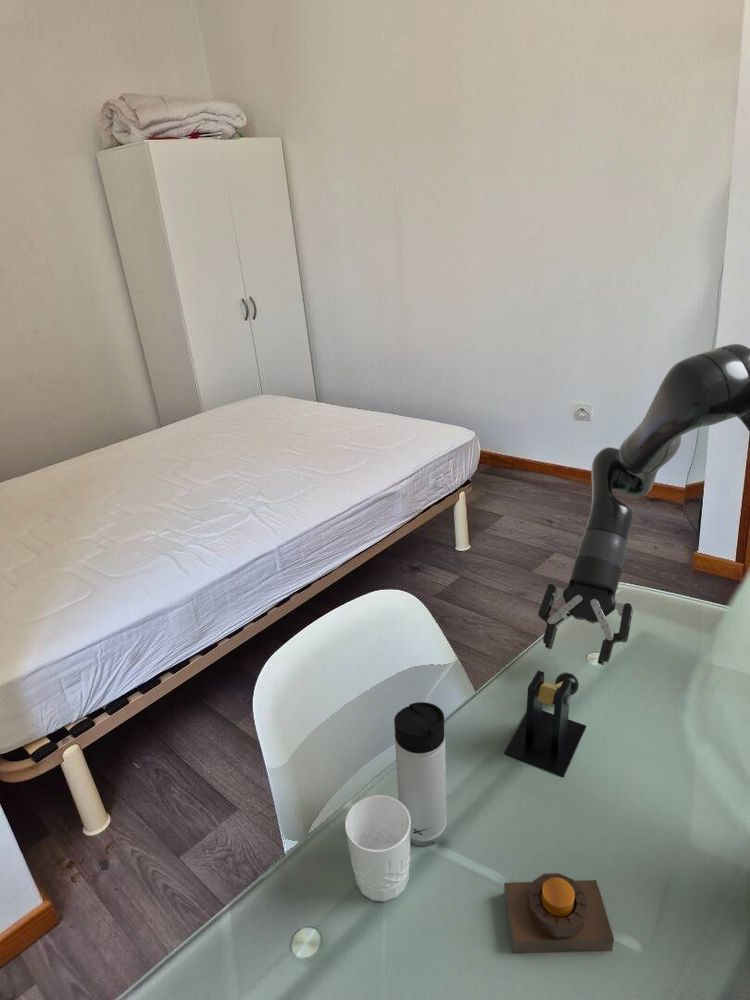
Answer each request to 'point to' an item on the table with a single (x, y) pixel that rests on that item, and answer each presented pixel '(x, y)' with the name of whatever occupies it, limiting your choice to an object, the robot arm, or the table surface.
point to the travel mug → (422, 770)
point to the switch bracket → (546, 731)
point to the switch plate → (557, 919)
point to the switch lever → (556, 688)
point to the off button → (558, 897)
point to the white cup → (379, 846)
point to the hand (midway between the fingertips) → (573, 656)
